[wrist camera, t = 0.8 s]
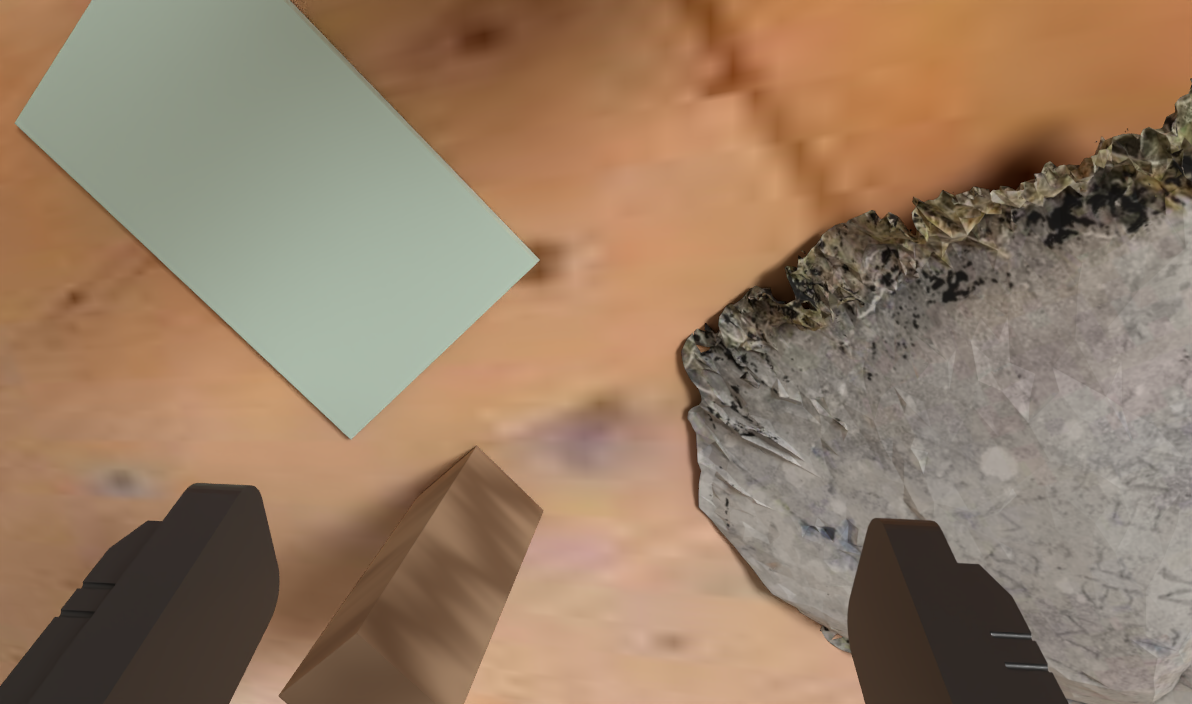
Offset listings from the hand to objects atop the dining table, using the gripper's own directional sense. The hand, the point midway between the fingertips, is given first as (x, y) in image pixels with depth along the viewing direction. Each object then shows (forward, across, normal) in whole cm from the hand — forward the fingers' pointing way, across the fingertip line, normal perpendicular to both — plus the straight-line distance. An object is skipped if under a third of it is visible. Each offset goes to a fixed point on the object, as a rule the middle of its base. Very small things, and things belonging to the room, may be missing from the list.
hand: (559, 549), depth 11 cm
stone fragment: (+20, -19, +12) cm, 31 cm away
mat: (+25, +14, +4) cm, 29 cm away
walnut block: (+22, +6, +19) cm, 29 cm away
